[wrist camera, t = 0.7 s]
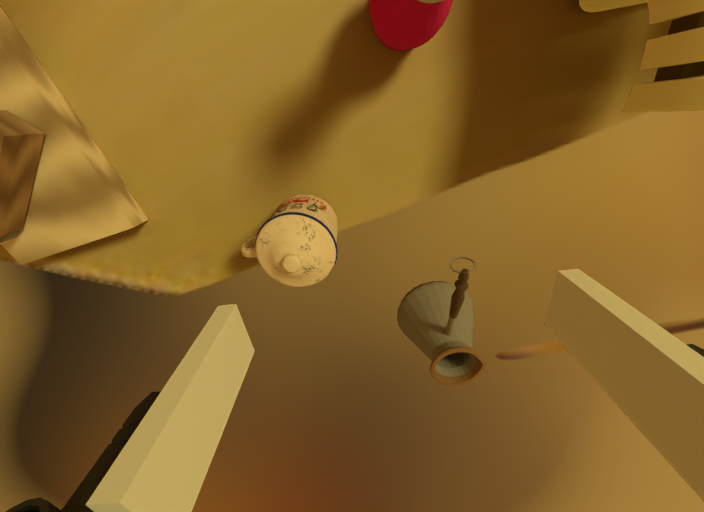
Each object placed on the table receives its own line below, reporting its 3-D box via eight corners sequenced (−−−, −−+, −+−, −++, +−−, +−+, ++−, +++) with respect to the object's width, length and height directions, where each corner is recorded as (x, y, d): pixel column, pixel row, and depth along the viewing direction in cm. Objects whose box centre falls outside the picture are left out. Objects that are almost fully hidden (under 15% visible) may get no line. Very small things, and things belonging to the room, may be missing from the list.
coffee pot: (465, 325, 47) (510, 409, 34) (397, 334, 48) (416, 419, 35) (468, 204, 37) (534, 256, 24) (383, 218, 38) (401, 276, 25)
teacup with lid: (332, 186, 36) (325, 216, 26) (345, 248, 40) (343, 295, 30) (244, 201, 37) (202, 236, 27) (265, 260, 41) (237, 310, 31)
